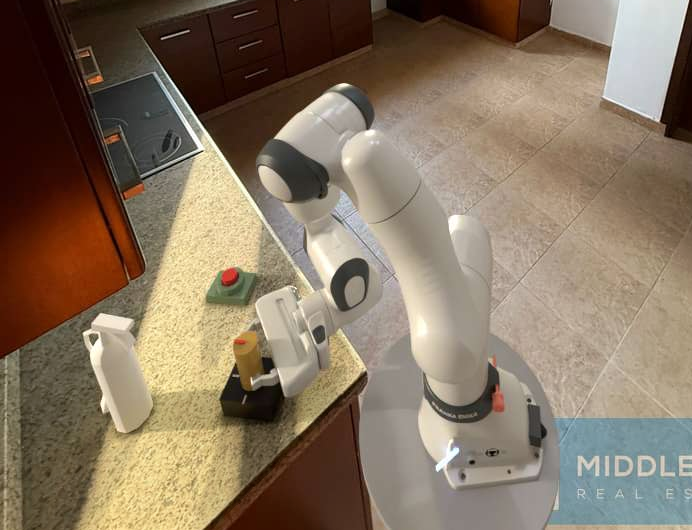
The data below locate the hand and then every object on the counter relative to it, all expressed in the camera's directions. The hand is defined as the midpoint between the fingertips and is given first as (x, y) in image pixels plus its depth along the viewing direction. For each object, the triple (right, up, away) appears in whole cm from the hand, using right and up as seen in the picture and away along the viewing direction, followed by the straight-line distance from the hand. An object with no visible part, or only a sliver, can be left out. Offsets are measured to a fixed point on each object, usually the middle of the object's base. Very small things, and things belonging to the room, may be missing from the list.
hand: (244, 361), depth 83 cm
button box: (-12, -3, +25) cm, 28 cm away
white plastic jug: (-23, -12, +2) cm, 26 cm away
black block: (+1, -10, +4) cm, 11 cm away
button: (-12, 0, +24) cm, 27 cm away
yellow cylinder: (+1, -5, +2) cm, 6 cm away
